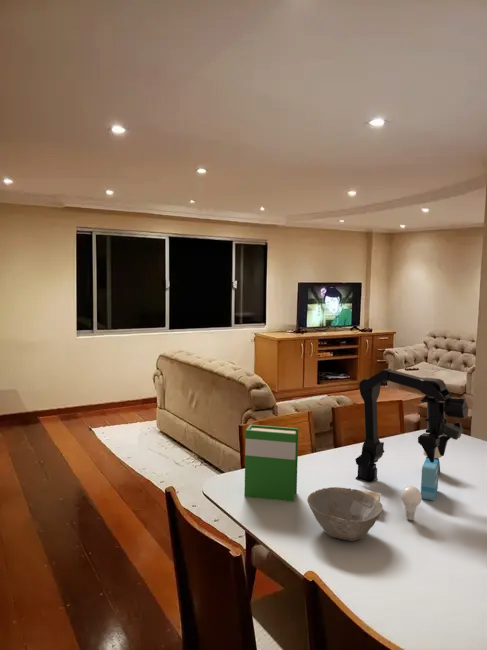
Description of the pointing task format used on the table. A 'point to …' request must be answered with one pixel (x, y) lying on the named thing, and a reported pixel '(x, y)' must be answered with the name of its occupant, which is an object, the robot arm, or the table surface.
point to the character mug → (437, 456)
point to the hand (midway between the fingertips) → (437, 459)
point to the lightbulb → (411, 500)
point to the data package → (429, 479)
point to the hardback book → (271, 462)
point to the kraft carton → (373, 494)
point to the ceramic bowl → (344, 511)
